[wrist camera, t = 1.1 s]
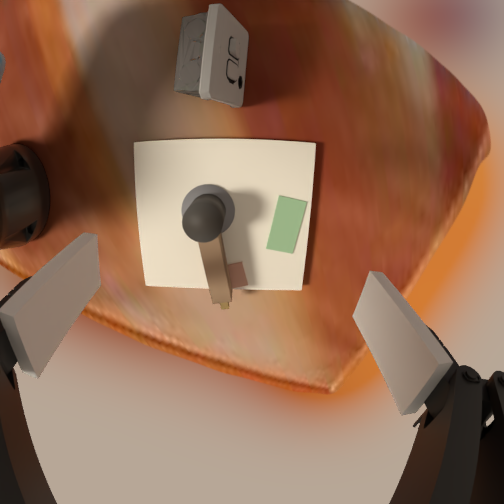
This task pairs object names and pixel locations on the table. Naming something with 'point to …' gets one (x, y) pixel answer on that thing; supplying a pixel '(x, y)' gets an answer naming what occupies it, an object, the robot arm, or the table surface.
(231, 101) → the electrical switch
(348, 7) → the table surface
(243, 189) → the tuner plate
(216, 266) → the peg
